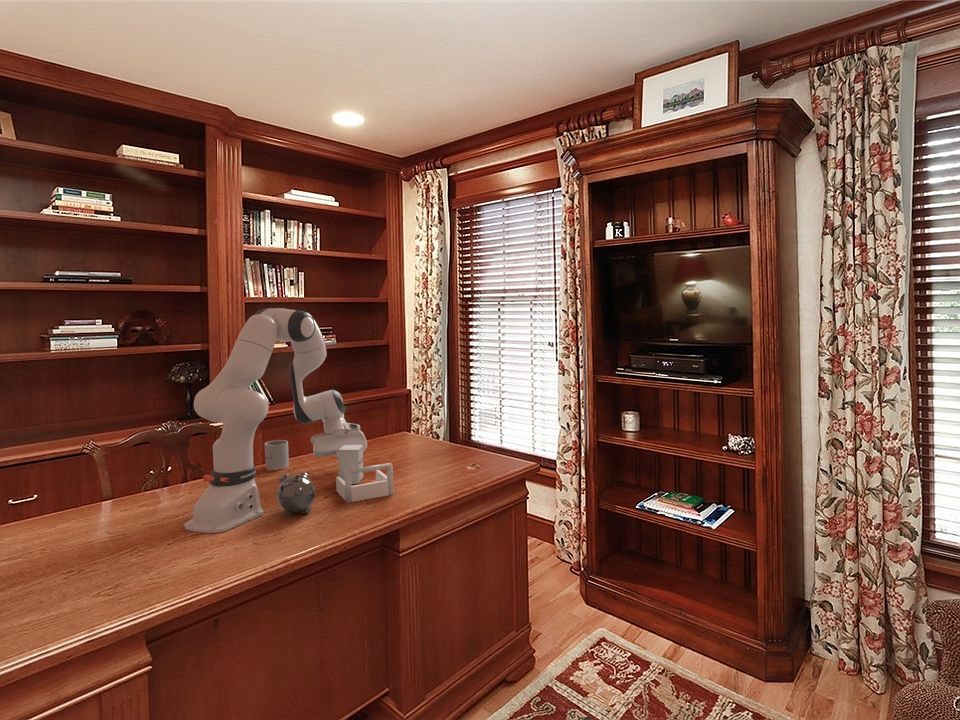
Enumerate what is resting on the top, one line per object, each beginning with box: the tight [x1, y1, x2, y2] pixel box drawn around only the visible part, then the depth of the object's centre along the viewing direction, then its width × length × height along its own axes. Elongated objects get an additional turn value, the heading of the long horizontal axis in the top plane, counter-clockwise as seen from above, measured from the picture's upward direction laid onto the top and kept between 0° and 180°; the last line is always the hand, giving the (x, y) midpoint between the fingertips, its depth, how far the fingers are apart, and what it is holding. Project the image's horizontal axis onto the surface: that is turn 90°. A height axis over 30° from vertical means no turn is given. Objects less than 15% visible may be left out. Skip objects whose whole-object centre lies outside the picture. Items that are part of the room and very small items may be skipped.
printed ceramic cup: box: [264, 439, 290, 471], centre depth 212 cm, size 12×9×10 cm
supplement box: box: [338, 445, 364, 485], centre depth 193 cm, size 7×7×13 cm
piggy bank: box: [276, 471, 316, 518], centre depth 164 cm, size 11×15×12 cm
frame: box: [335, 462, 394, 504], centre depth 180 cm, size 14×16×11 cm
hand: (344, 462), depth 200 cm, fingers closed
